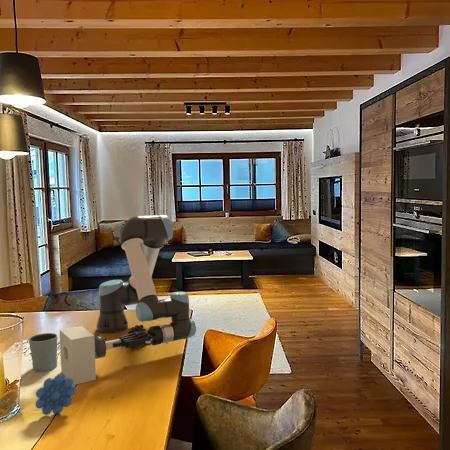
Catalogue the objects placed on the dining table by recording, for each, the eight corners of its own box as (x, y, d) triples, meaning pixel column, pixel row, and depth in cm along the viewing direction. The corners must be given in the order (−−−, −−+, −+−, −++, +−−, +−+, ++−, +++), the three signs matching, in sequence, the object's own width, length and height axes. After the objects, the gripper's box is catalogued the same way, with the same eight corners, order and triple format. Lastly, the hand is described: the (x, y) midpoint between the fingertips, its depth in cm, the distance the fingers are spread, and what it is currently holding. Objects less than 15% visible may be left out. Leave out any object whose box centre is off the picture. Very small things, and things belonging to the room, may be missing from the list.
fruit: (133, 331, 191) (146, 320, 206) (115, 336, 193) (130, 325, 208) (140, 350, 191) (153, 338, 206) (122, 356, 193) (136, 343, 208)
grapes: (77, 404, 145) (75, 367, 144) (77, 414, 138) (75, 375, 137) (37, 410, 141) (35, 372, 140) (35, 420, 135) (33, 380, 134)
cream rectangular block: (61, 371, 172) (59, 329, 171) (82, 367, 177) (81, 326, 176) (73, 385, 160) (71, 339, 159) (95, 379, 164) (94, 335, 163)
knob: (70, 360, 170) (69, 338, 170) (99, 353, 176) (98, 333, 176) (76, 366, 164) (75, 344, 163) (106, 359, 170) (105, 338, 169)
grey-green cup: (64, 364, 180) (62, 334, 179) (46, 374, 170) (44, 342, 170) (43, 361, 183) (41, 332, 182) (24, 371, 174) (22, 339, 173)
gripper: (167, 347, 181) (110, 361, 168) (153, 339, 192) (97, 351, 178) (167, 328, 181) (109, 340, 167) (152, 321, 191) (96, 332, 178)
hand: (103, 346), depth 173 cm, fingers closed
